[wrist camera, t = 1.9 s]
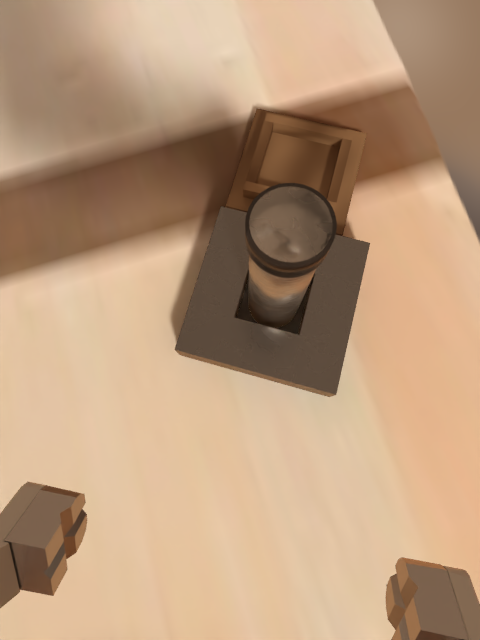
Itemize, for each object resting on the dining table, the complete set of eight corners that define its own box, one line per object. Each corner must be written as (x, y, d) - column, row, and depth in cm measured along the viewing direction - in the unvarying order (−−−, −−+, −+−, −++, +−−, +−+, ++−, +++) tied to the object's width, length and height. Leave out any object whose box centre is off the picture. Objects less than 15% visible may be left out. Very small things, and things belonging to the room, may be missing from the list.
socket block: (180, 355, 33) (174, 349, 30) (222, 220, 35) (221, 206, 33) (329, 396, 32) (335, 394, 29) (361, 255, 34) (369, 243, 32)
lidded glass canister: (239, 322, 33) (234, 253, 20) (253, 272, 34) (258, 173, 21) (292, 336, 33) (325, 276, 19) (306, 286, 34) (345, 194, 20)
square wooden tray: (226, 210, 36) (224, 198, 34) (256, 114, 38) (257, 98, 36) (340, 239, 35) (345, 228, 33) (364, 139, 37) (370, 123, 35)
